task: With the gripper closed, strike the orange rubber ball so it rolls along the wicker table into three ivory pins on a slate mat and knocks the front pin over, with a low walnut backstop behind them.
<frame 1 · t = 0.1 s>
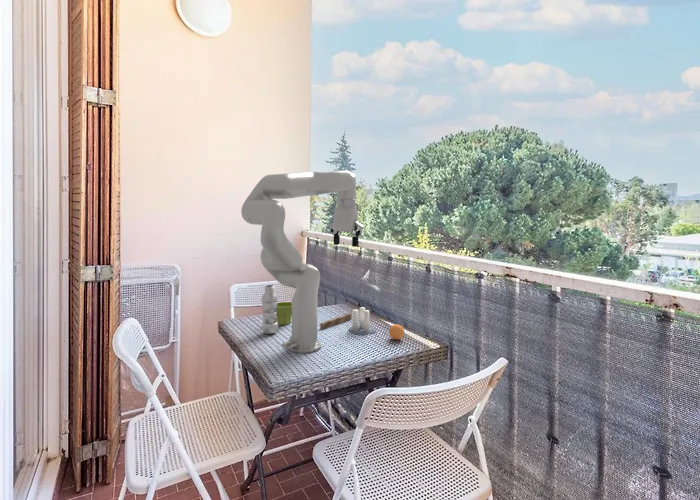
hand: (345, 245, 160), 37 cm above the table, tool pointing down, fingers open, 9 cm apart
ball: (396, 332, 155), on the table
plastic bottle: (270, 333, 160), on the table
backstop: (336, 323, 175), on the table
front pin: (366, 331, 165), on the table
pin spot mat: (362, 330, 166), on the table
left back pin: (355, 330, 165), on the table
right back pin: (362, 328, 169), on the table
plant pot: (283, 323, 174), on the table
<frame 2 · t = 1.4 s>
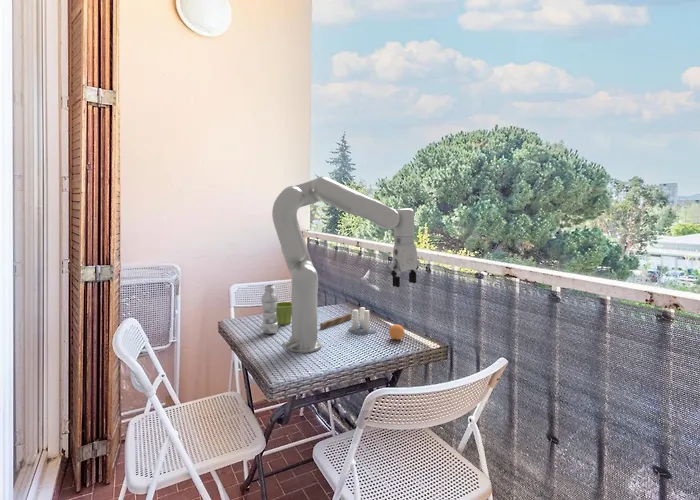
hand: (404, 284, 150), 23 cm above the table, tool pointing down, fingers open, 9 cm apart
nothing on the table moved.
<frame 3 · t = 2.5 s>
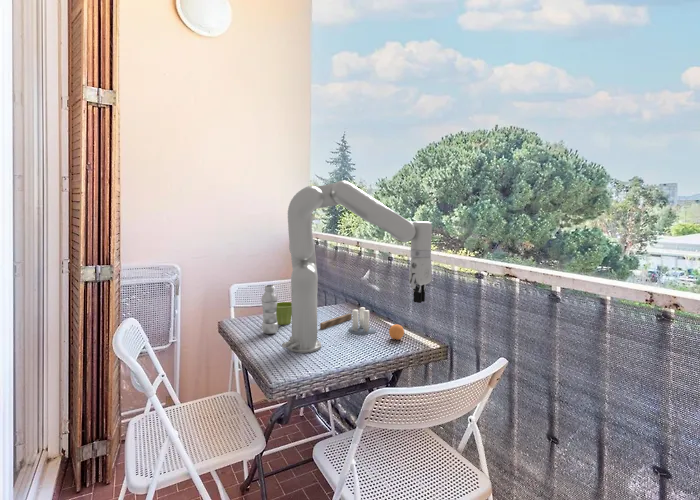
hand: (419, 301, 148), 17 cm above the table, tool pointing down, fingers closed
nothing on the table moved.
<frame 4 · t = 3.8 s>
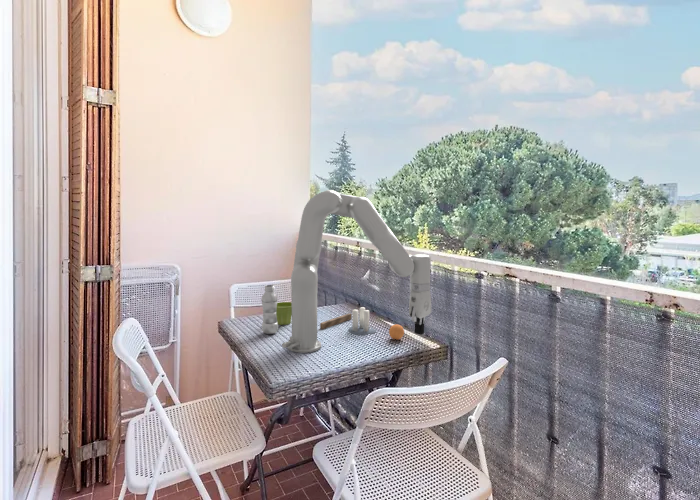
hand: (419, 333, 149), 4 cm above the table, tool pointing down, fingers closed
nothing on the table moved.
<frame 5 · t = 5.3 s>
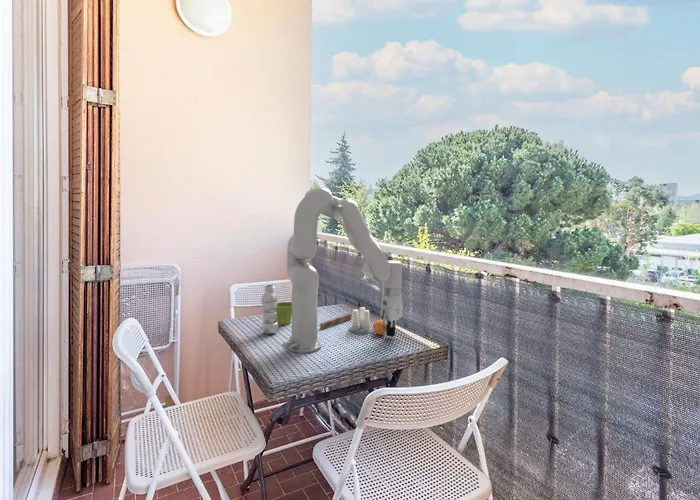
hand: (390, 335, 157), 1 cm above the table, tool pointing down, fingers closed
ball: (380, 327, 161), on the table
everything else where it was.
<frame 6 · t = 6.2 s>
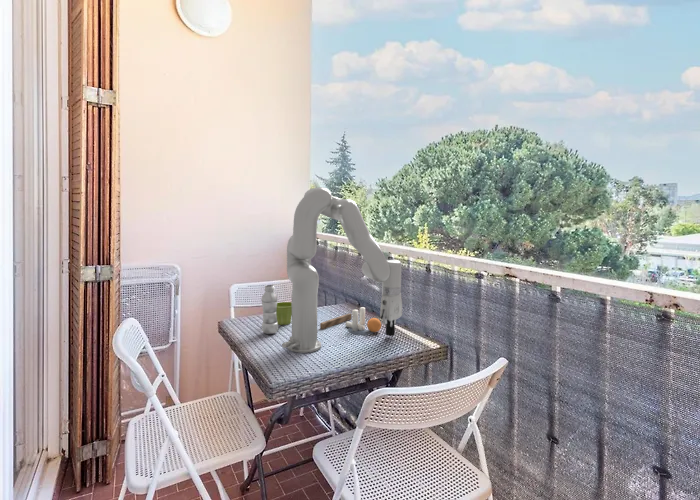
hand: (390, 334, 157), 1 cm above the table, tool pointing down, fingers closed
ball: (374, 325, 164), on the table
front pin: (363, 328, 165), point 1 cm above the table, tilted 90°
everything else where it was.
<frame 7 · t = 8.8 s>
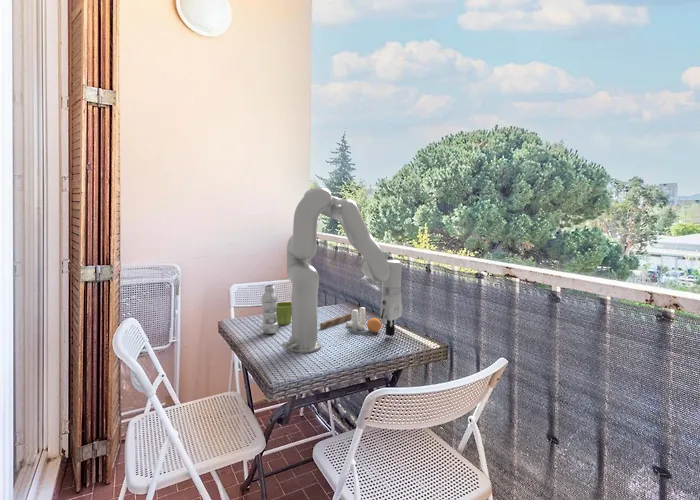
hand: (390, 334, 157), 1 cm above the table, tool pointing down, fingers closed
nothing on the table moved.
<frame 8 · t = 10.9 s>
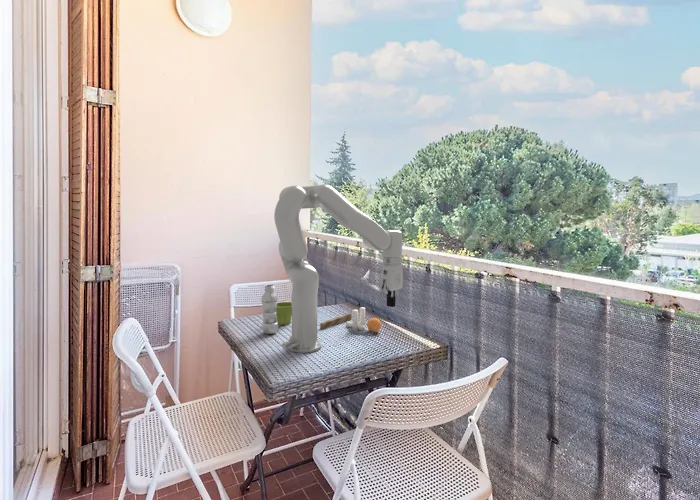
hand: (390, 306, 156), 13 cm above the table, tool pointing down, fingers closed
nothing on the table moved.
at the end: front pin tilted 90°; front pin never touched the robot; ball moved 12.1 cm from its start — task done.
